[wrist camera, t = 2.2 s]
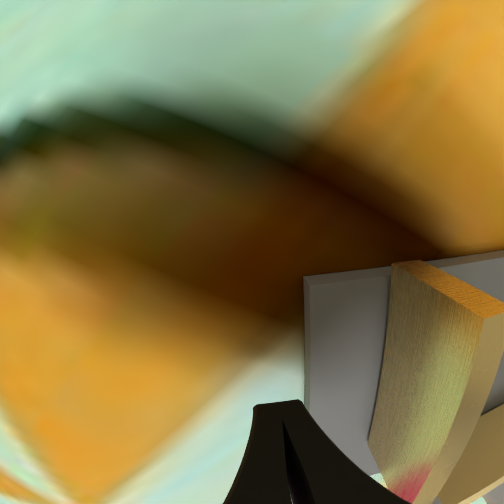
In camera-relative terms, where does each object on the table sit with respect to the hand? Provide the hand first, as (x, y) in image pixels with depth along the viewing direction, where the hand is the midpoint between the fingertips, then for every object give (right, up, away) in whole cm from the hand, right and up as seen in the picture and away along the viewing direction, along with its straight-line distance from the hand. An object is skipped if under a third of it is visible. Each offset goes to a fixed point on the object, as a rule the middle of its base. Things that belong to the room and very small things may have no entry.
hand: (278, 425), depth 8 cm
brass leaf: (+5, 0, +3) cm, 6 cm away
